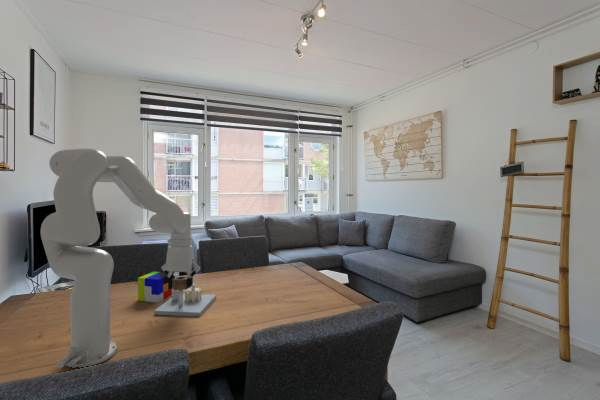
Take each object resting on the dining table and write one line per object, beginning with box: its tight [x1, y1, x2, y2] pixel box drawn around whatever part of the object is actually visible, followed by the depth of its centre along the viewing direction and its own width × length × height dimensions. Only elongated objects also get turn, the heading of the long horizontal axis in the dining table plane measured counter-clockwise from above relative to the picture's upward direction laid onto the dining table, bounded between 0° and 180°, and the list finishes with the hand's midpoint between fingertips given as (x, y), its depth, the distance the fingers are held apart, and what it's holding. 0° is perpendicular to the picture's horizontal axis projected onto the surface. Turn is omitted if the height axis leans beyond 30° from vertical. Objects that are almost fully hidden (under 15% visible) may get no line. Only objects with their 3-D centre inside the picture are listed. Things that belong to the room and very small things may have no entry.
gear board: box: [153, 283, 217, 317], centre depth 124 cm, size 19×18×8 cm
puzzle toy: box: [137, 271, 172, 303], centre depth 133 cm, size 10×10×10 cm
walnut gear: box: [172, 275, 189, 291], centre depth 120 cm, size 6×6×4 cm
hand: (180, 286), depth 120 cm, fingers closed on walnut gear, 6 cm apart
